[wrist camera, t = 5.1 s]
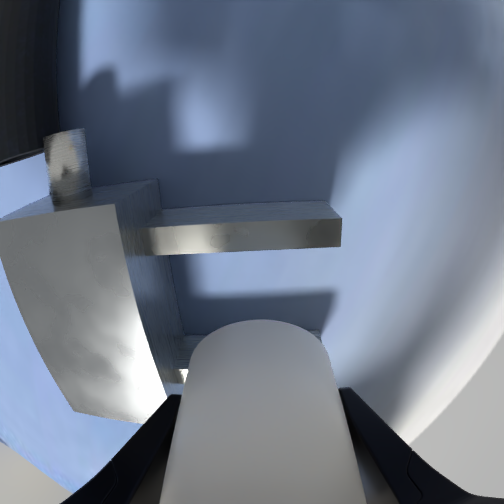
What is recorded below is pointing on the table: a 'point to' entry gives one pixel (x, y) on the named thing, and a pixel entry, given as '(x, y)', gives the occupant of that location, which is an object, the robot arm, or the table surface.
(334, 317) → the table surface
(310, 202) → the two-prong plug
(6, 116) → the pipe connector
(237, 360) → the white cylinder
